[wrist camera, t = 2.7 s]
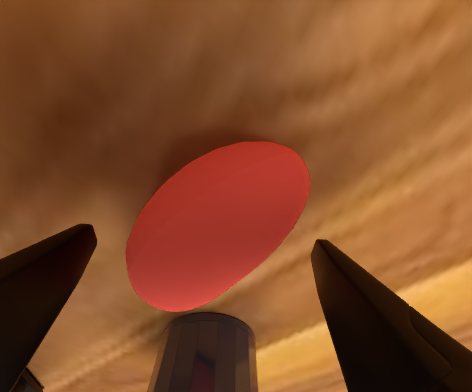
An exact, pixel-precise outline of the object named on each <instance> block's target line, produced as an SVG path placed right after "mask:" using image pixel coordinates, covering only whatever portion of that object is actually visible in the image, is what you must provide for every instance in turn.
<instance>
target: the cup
mask: <svg viewBox="0 0 472 392" xmlns="http://www.w3.org/2000/svg"><path fill="white" fill-rule="evenodd" d="M147 392H258V376H257V360H256V347H255V336H254V334H253V332H252V330H251V329H250V328H249V327H248V326H247V325H246V324H245V323H243V322H242V321H240V320H238V319H236V318H233V317H230V316H227V315H223V314H217V313H195V314H190V315H186V316H183V317H180V318H178V319H176V320H174V321H173V322H171V323H170V324H169V325H168V327H167V328H166V330H165V332H164V335H163V338H162V341H161V344H160V348H159V351H158V355H157V358H156V362H155V366H154V369H153V373H152V376H151V380H150V383H149V387H148V390H147Z"/></svg>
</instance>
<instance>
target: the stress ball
mask: <svg viewBox="0 0 472 392" xmlns="http://www.w3.org/2000/svg"><path fill="white" fill-rule="evenodd" d="M309 190H310V177H309V173H308V170H307V167H306V165H305V163H304V162H303V160H302V158H301V157H300V156H299V155H298V154H297V153H296V152H295V151H294V150H292V149H291V148H289V147H286V146H283V145H280V144H276V143H273V142H269V141H254V142H240V143H236V144H232V145H229V146H225V147H221V148H218V149H215V150H213V151H211V152H209V153H207V154H205V155H203V156H201V157H199V158H197V159H195V160H193V161H192V162H190V163H189V164H187V165H186V166H185V167H183V168H182V169H181V170H180V171H178V172H177V173H176V174H175V175H173V176H172V177H171V178H169V179H168V180H167V181H166V182H165V183H164V184H163V185H162V186H161V187H160V188H159V189H158V190H157V191H156V193H155V194H154V195H153V196H152V197H151V199H150V200H149V201H148V203H147V204H146V205H145V207H144V208H143V210H142V211H141V212H140V214H139V215H138V217H137V220H136V222H135V224H134V227H133V229H132V232H131V234H130V237H129V239H128V242H127V247H126V264H127V270H128V275H129V279H130V282H131V284H132V286H133V288H134V290H135V291H136V293H137V294H138V295H139V297H140V298H142V299H143V300H144V301H145V302H146V303H148V304H149V305H151V306H153V307H155V308H158V309H161V310H164V311H171V312H179V311H186V310H190V309H193V308H197V307H200V306H202V305H204V304H206V303H209V302H210V301H212V300H213V299H215V298H216V297H218V296H219V295H221V294H222V293H223V292H225V291H226V290H228V289H229V288H230V287H231V286H233V285H234V284H235V283H237V282H238V281H240V280H241V279H242V278H244V277H245V276H246V275H248V274H249V273H250V272H251V271H253V270H254V269H255V268H256V267H257V266H259V265H260V264H261V263H262V262H263V261H265V260H266V258H267V257H268V256H269V255H270V254H271V253H272V252H273V251H274V250H275V249H276V248H277V247H278V246H279V245H280V244H281V243H282V241H283V240H284V239H285V238H286V236H287V235H288V234H289V233H290V231H291V230H292V229H293V227H294V225H295V224H296V222H297V220H298V218H299V217H300V215H301V213H302V211H303V210H304V207H305V204H306V201H307V198H308V194H309Z"/></svg>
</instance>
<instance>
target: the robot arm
mask: <svg viewBox="0 0 472 392" xmlns="http://www.w3.org/2000/svg"><path fill="white" fill-rule="evenodd" d="M96 246H97V238H96V235H95V232H94V228H93V226H92V225H90V224H78V225H76V226H73V227H71V228H69V229H67V230H64V231H62V232H60V233H58V234H56V235H53V236H51V237H49V238H47V239H44V240H42V241H40V242H38V243H36V244H33V245H31V246H29V247H27V248H25V249H22V250H20V251H18V252H16V253H13V254H11V255H9V256H7V257H5V258H2V259H0V392H43V390H42V389H41V388H40V386H39V385H38V384H37V383H36V382H35V380H34V379H33V378H32V377H31V376H30V374H29V373H28V372H27V371H26V370H25V368H26V366H27V365H28V363H29V362H30V360H31V358H32V357H33V355H34V353H35V352H36V350H37V349H38V347H39V345H40V344H41V342H42V341H43V339H44V337H45V336H46V334H47V332H48V331H49V329H50V328H51V326H52V324H53V323H54V321H55V320H56V318H57V316H58V315H59V313H60V311H61V310H62V308H63V307H64V305H65V303H66V302H67V300H68V299H69V297H70V295H71V294H72V292H73V290H74V289H75V287H76V286H77V284H78V282H79V280H80V278H81V277H82V275H83V273H84V271H85V268H86V266H87V264H88V262H89V260H90V258H91V256H92V254H93V252H94V250H95V248H96ZM311 262H312V267H313V272H314V277H315V282H316V288H317V292H318V296H319V300H320V303H321V306H322V309H323V313H324V316H325V319H326V322H327V325H328V329H329V332H330V335H331V338H332V341H333V345H334V348H335V351H336V354H337V357H338V361H339V364H340V367H341V370H342V374H343V377H344V380H345V383H346V386H347V390H348V392H472V352H471V351H470V350H469V349H467V348H466V347H464V346H463V345H462V344H460V343H459V342H457V341H456V340H455V339H453V338H452V337H451V336H449V335H448V334H446V333H445V332H444V331H442V330H441V329H440V328H438V327H437V326H436V325H434V324H433V323H432V322H431V321H429V320H428V319H427V318H425V317H424V316H423V315H421V314H420V313H419V312H418V311H416V310H415V309H414V308H413V307H411V306H409V304H407V303H406V302H405V301H404V300H402V299H401V298H400V297H399V296H397V295H396V294H395V293H394V292H392V291H391V290H390V289H389V288H387V287H386V286H385V285H384V284H382V283H381V282H380V281H378V280H377V279H376V278H375V277H373V276H372V275H371V274H370V273H368V272H367V271H366V270H365V269H363V268H362V267H361V266H360V265H358V264H357V263H356V262H354V261H353V260H352V259H351V258H349V257H348V256H347V255H346V254H344V253H343V252H342V251H341V250H339V249H338V248H337V247H336V246H334V245H333V244H332V243H331V242H329V241H328V240H323V239H317V240H316V241H315V244H314V247H313V250H312V253H311Z"/></svg>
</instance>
